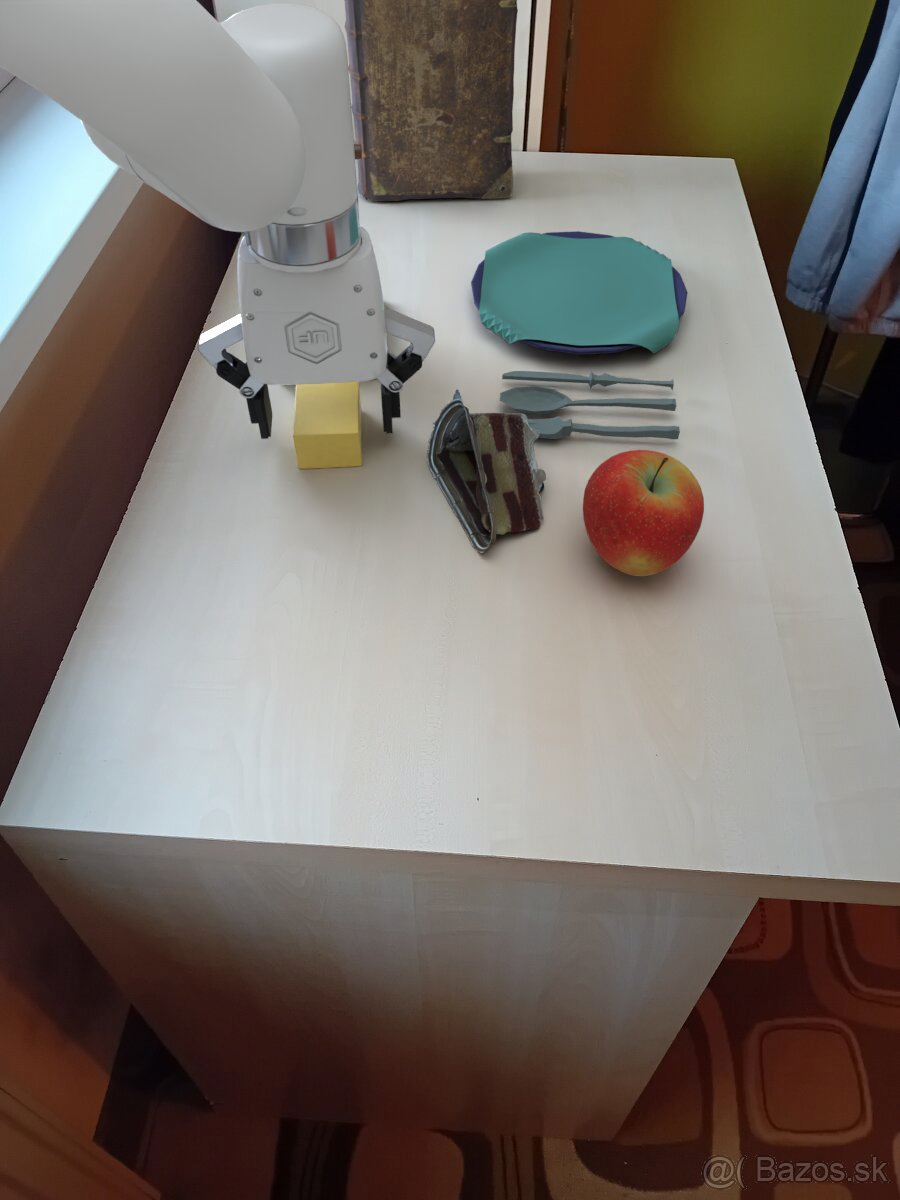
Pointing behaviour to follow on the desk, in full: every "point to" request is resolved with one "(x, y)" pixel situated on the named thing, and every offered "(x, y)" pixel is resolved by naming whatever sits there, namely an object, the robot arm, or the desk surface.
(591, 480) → the apple
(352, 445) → the butter
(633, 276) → the cutlery set
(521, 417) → the chocolate cake
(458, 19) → the book
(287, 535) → the desk surface
